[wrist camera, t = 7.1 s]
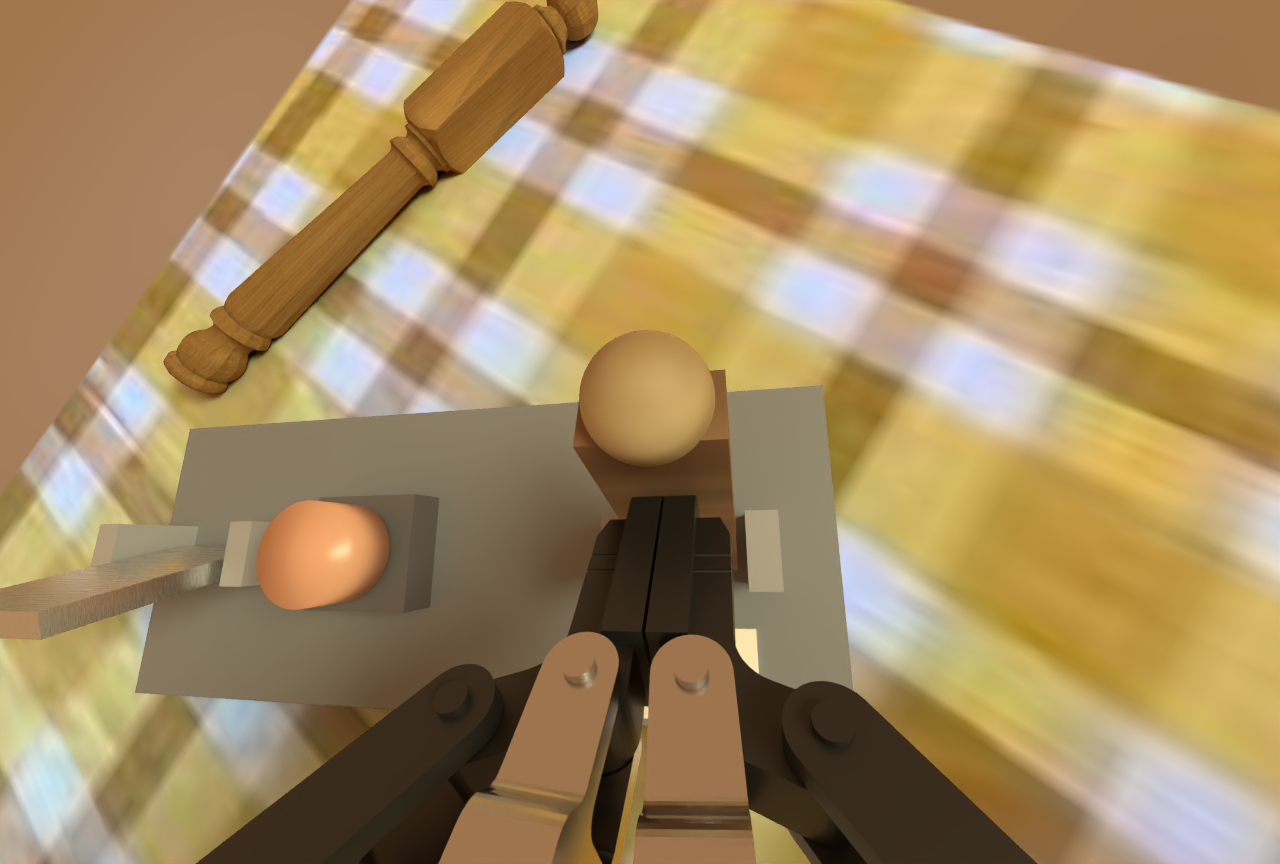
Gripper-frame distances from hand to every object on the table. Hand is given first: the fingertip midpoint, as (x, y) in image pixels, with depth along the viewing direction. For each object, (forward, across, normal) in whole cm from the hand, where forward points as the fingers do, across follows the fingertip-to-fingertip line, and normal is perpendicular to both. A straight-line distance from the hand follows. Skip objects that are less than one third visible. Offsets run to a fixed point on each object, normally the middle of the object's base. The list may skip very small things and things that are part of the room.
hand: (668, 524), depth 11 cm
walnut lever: (+4, 0, +5) cm, 6 cm away
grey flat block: (+4, +20, +5) cm, 21 cm away
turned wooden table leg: (+20, +16, -6) cm, 26 cm away
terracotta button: (+3, +13, +4) cm, 14 cm away
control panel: (+6, +10, +7) cm, 13 cm away
